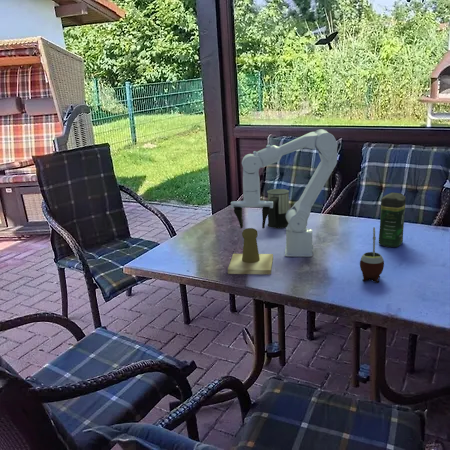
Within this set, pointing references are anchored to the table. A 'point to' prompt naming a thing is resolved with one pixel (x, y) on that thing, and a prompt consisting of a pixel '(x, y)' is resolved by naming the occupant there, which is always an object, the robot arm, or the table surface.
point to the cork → (250, 246)
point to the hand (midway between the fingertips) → (252, 227)
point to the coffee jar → (392, 220)
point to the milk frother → (278, 208)
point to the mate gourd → (372, 264)
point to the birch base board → (251, 265)
